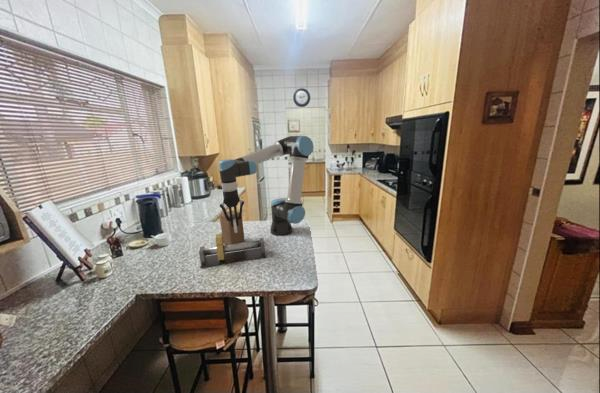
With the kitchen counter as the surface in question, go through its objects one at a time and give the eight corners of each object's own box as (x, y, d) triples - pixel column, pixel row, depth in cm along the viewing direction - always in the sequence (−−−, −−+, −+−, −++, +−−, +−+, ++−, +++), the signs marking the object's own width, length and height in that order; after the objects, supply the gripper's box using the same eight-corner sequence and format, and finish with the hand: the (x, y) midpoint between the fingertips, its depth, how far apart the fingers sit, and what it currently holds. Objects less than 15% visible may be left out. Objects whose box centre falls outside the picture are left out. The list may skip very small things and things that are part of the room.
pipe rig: (263, 248, 147) (262, 235, 145) (266, 257, 136) (264, 243, 134) (203, 257, 139) (201, 244, 137) (200, 268, 128) (198, 254, 126)
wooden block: (232, 248, 150) (228, 216, 144) (222, 244, 155) (218, 213, 150) (245, 241, 157) (242, 212, 152) (235, 238, 163) (231, 209, 158)
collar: (224, 252, 140) (222, 232, 137) (224, 259, 132) (221, 238, 129) (219, 253, 139) (216, 233, 136) (218, 260, 131) (215, 239, 128)
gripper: (242, 186, 133) (247, 227, 140) (217, 189, 130) (223, 231, 137) (243, 189, 126) (248, 232, 133) (216, 193, 123) (223, 236, 130)
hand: (236, 231), depth 135 cm, fingers closed
